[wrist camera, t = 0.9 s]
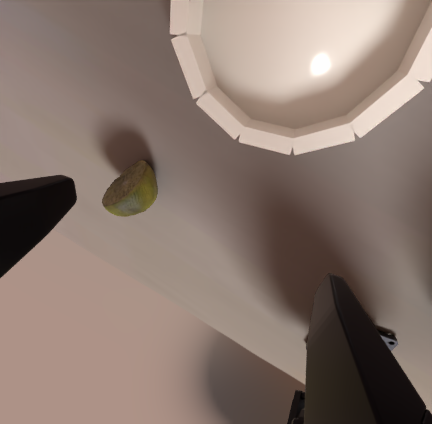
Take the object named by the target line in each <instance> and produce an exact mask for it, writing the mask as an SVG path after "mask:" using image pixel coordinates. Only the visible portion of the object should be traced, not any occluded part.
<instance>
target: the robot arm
mask: <svg viewBox="0 0 432 424" xmlns="http://www.w3.org/2000/svg"><path fill="white" fill-rule="evenodd" d="M76 200H77V196H76V190H75V184H74V181H73V179H72V178H69V177H67V176H64V175H55V176H48V177H41V178H34V179H26V180H19V181H12V182H5V183H0V278H1V277H2V276H3V275H4V274H6V273H7V272H8V271H9V270H10V269H11V268H12V267H13V266H14V265H15V264H16V263H17V262H19V261H20V260H21V259H22V258H23V257H24V256H25V255H26V254H27V253H28V252H29V251H30V250H31V249H33V248H34V247H35V246H36V245H37V244H38V243H39V242H40V241H41V240H42V239H43V238H44V237H45V236H46V235H47V234H48V233H49V232H50V231H51V230H52V229H53V228H54V227H55V226H56V225H57V224H58V222H59V221H60V220H61V219H62V218H63V217H64V216H65V215H66V213H67V212H68V211H69V210H70V209H71V208H72V207H73V206H74V204H75V203H76ZM397 345H398V342H397V339H396V338H395V337H394V336H391V335H388V334H385V333H382V332H380V331H377V329H376V328H375V326H374V325H373V323H372V322H371V320H370V318H369V317H368V315H367V314H366V312H365V311H364V309H363V308H362V306H361V305H360V303H359V301H358V300H357V298H356V297H355V295H354V294H353V292H352V291H351V289H350V288H349V286H348V284H347V283H346V281H345V280H344V279H343V278H342V277H339V276H337V275H334V274H331V273H330V274H328V275H327V276H326V277H325V278H324V280H323V281H322V283H321V284H320V286H319V287H318V289H317V291H316V293H315V297H314V303H313V310H312V316H311V322H310V328H309V335H308V342H307V344H306V350H307V360H306V387H305V392H302V391H300V390H296V391H295V395H294V399H293V402H292V406H291V410H290V414H289V419H288V423H287V424H432V414H431V413H430V411H429V410H427V409H426V405H425V404H424V402H423V400H422V399H421V397H420V396H419V394H418V393H417V391H416V390H415V388H414V387H413V385H412V383H411V382H410V380H409V379H408V377H407V376H406V374H405V373H404V371H403V370H402V368H401V366H400V365H399V363H398V362H397V360H396V359H395V357H394V356H393V354H392V353H391V351H392V350H393V349H394V348H395V347H396V346H397Z"/></svg>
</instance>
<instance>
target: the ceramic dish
mask: <svg viewBox="0 0 432 424" xmlns="http://www.w3.org/2000/svg"><path fill="white" fill-rule="evenodd" d="M170 34H174V35H178V36H177V37H175V38H173V39H171V41H172V44H173V47H174V49H175V52H176V55H177V57H178V60H179V63H180V65H181V68H182V71H183V73H184V76H185V79H186V81H187V84H188V87H189V89H190V92H191V95H192V97H193V99H195V98H197V97H200V98H199V99H198V101H197V102H196V104H197V105H198V106H199V107H200V108H202V109H203V110H204V111H205V112H206V113H207V114H208V115H209V116H210V117H211V118H212V119H213V120H214V121H215V122H216V123H217V124H218V125H220V126H221V127H222V128H223V129H224V130H225V131H226V132H227V133H228V134H229V135H230V136H231V137H232V138H233V139H234V140H235V139H236V138H237V137H238V136H239V135H240V138H239V142H240V143H244V144H248V145H252V146H256V147H260V148H264V149H268V150H272V151H275V152H279V153H283V154H287V155H290V153H291V150H292V147H293V151H294V155H297V154H302V153H306V152H310V151H314V150H318V149H322V148H326V147H331V146H335V145H339V144H343V143H347V142H351V141H355V138H354V132H355V133H356V134H357V135H358V136H359V137H360V138H361V137H362V136H364V135H365V134H366V133H367V132H369V131H370V130H371V129H373V128H374V127H375V126H376V125H378V124H379V123H380V122H382V121H383V120H384V119H385V118H387V117H388V116H389V115H391V114H392V113H393V112H394V111H396V110H397V109H398V108H400V107H401V106H402V105H403V104H405V103H406V102H407V101H408V100H410V99H411V98H412V97H414V96H415V95H416V94H417V93H419V92H420V91H421V90H423V89H424V87H423V86H422V85H421V84H420V83H419V82H418V81H417V80H420V81H425V82H430V80H431V79H432V0H171V11H170Z"/></svg>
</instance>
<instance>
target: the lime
mask: <svg viewBox="0 0 432 424" xmlns="http://www.w3.org/2000/svg"><path fill="white" fill-rule="evenodd" d="M157 194H158V188H157V182H156V177H155V174H154V172H153V170H152V169H151V167H150V166H149V165H148V164H147V163H146V162H145V161H142V160H141V161H138V162H137V163H135V164H134V165H132V166H131V167H130V168H128V169H126V170H125V171H124V172H123V173H122V174H121V175H120V177H118V178H117V179H115V180H114V182H112V184H111V185H110V187H109V188H108V189H107V191H106V193H105V195H104V197H103V199H102V203H103V206H104V207H105V209H106V210H107V211H109V212H110V213H112V214H114V215H117V216H131V215H136V214H138V213H141V212H144V211H145V210H146V209H147V208H149V207H150V206H151V205H152V204H153V203H154V201H155V200H156V197H157Z"/></svg>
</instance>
